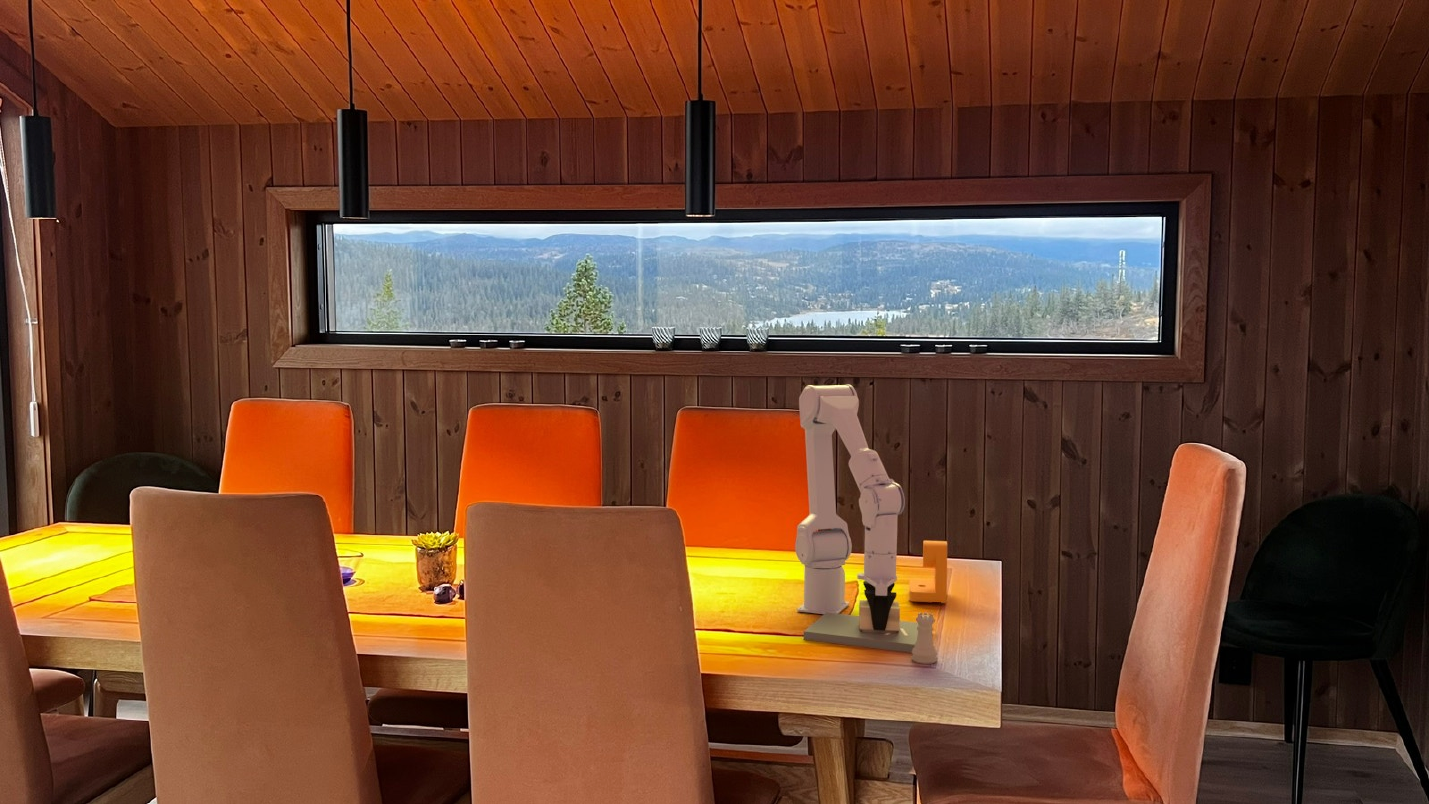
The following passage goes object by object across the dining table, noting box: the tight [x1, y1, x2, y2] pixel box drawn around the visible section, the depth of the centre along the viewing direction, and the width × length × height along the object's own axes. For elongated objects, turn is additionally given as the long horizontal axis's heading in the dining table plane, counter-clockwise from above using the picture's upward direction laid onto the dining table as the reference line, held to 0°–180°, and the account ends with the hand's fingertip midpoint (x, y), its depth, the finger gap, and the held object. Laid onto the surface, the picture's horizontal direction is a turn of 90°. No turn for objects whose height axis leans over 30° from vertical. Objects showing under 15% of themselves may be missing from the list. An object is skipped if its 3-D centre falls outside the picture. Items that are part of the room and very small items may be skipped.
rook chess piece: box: [910, 611, 939, 665], centre depth 205 cm, size 4×4×8 cm
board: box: [803, 612, 918, 654], centre depth 220 cm, size 14×20×2 cm
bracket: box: [908, 540, 948, 604], centre depth 246 cm, size 11×7×12 cm, turn 171°
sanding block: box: [858, 599, 901, 633], centre depth 219 cm, size 5×7×4 cm
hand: (878, 625), depth 219 cm, fingers closed on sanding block, 5 cm apart
